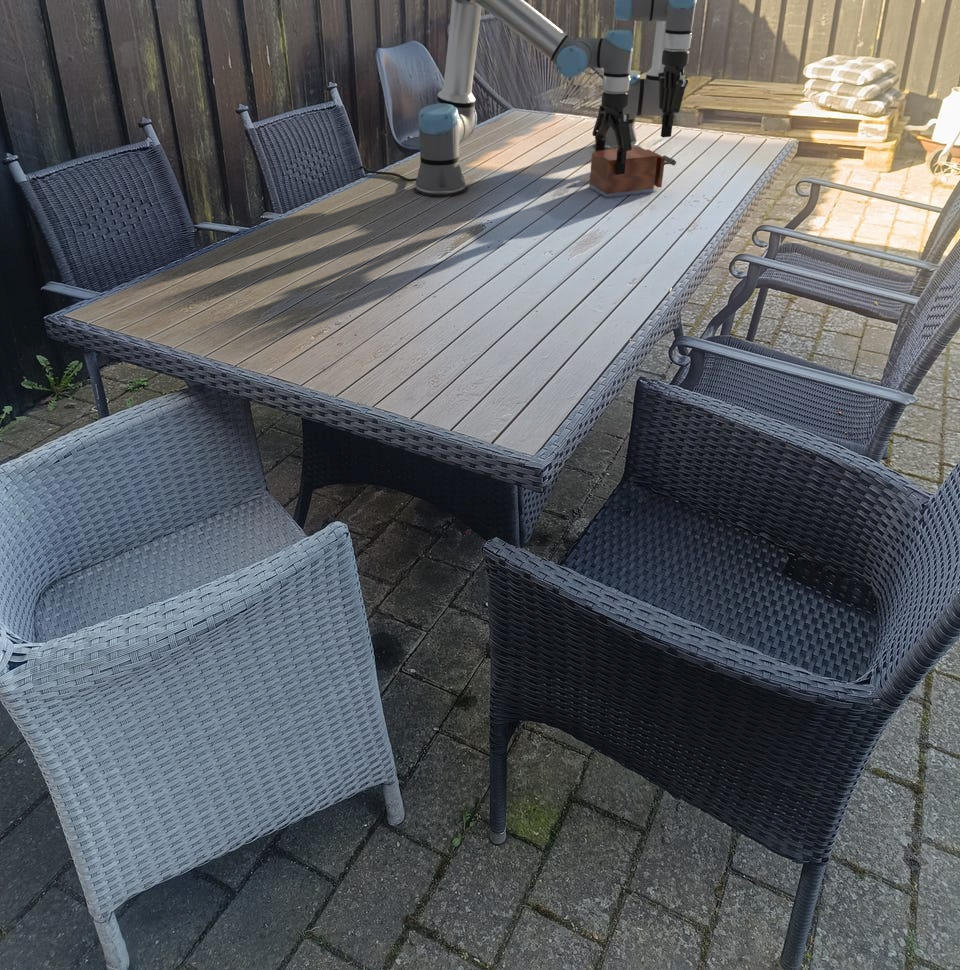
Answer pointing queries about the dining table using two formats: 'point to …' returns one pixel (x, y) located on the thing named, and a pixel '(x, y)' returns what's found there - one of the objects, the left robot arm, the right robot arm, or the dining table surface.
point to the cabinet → (632, 182)
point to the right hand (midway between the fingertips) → (665, 136)
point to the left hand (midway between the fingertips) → (609, 168)
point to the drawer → (661, 168)
